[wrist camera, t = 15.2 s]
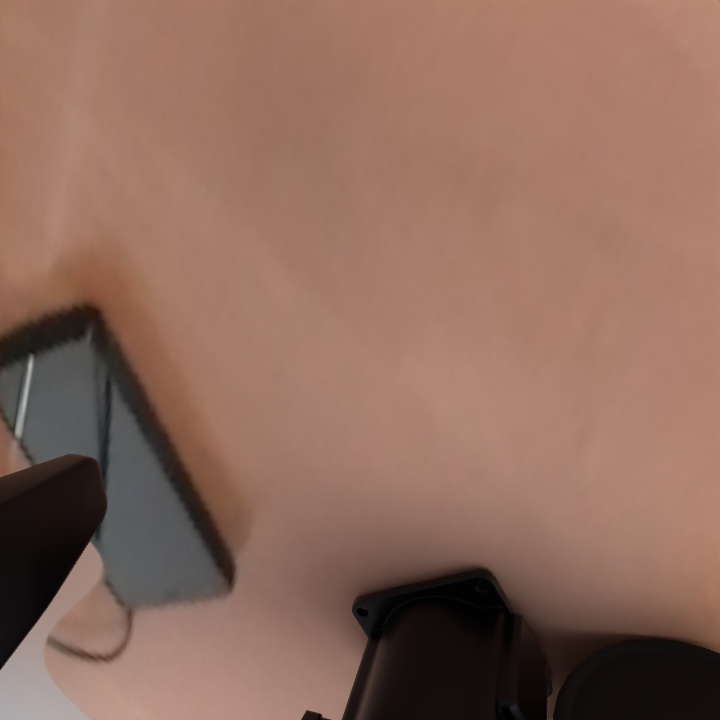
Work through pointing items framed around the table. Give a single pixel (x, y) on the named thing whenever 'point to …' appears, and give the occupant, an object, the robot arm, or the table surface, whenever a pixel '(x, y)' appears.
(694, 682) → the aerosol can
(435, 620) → the robot arm
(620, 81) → the table surface
